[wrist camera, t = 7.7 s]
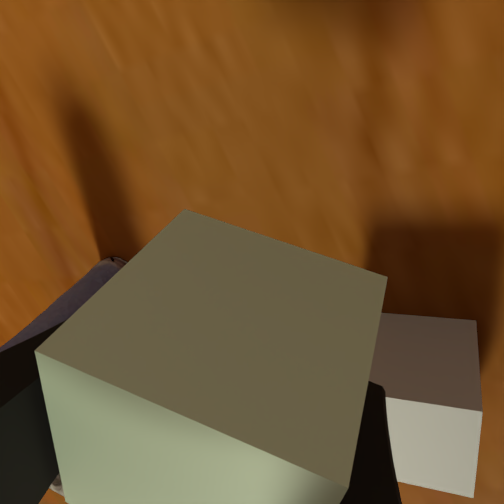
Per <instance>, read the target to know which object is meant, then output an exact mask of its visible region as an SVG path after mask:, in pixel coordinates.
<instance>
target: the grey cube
mask: <svg viewBox="0 0 504 504" xmlns="http://www.w3.org/2000/svg"><path fill="white" fill-rule="evenodd" d="M369 381H371V382H373V383H376V384H378V385H381V386H383V388H384V390H385V391H386V409H387V420H388V428H389V436H390V443H391V450H392V456H393V462H394V467H395V472H396V477H397V481H399V482H403V483H408V484H412V485H417V486H421V487H426V488H430V489H435V490H439V491H444V492H448V493H453V494H457V495H462V496H466V497H471V498H473V497H474V488H475V478H476V469H477V459H478V450H479V440H480V431H481V422H482V412H483V411H482V397H481V382H480V368H479V353H478V339H477V324H476V320H465V319H452V318H440V317H428V316H416V315H403V314H391V313H381V316H380V322H379V327H378V332H377V338H376V343H375V348H374V354H373V359H372V365H371V370H370V375H369Z"/></svg>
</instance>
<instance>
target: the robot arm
mask: <svg viewBox="0 0 504 504" xmlns="http://www.w3.org/2000/svg"><path fill="white" fill-rule="evenodd" d="M67 320H68V319H67ZM67 320H65V321H67ZM65 321H63V322H61V323H59V324H57V325H55V326H53V327H51V328H49V329H47V330H45V331H43V332H41V333H39V334H37V335H35V336H33V337H31V338H29V339H27V340H25V341H23V342H21V343H18V344H16V345H14V346H12V347H10V348H8V349H6V350H3V351H1V352H0V504H38V503H39V502H40V500H41V499H42V497H43V496H44V494H45V493H46V491H47V490H48V488H49V487H50V485H51V484H52V482H53V481H54V479H55V478H56V477H57V475H58V474H59V473H60V472H59V467H58V462H57V457H56V453H55V448H54V443H53V438H52V433H51V428H50V423H49V419H48V414H47V409H46V404H45V399H44V394H43V390H42V385H41V380H40V375H39V370H38V365H37V360H36V356H35V350H36V349H37V348H38V347H39V346H40V345H41V344H42V343H43V342H44V341H45V340H46V339H47V338H49V337H50V336H51V335H52V334H53V333H54V332H55V331H56V330H57V329H58V328H59V327H60V326H61V325H62V324H63V323H64V322H65ZM340 504H402V502H401V498H400V492H399V487H398V482H397V477H396V472H395V467H394V462H393V456H392V450H391V443H390V436H389V428H388V420H387V409H386V391H385V390H384V388H383V386H381V385H378V384H376V383H373V382H371V381H368V386H367V391H366V397H365V402H364V407H363V413H362V418H361V423H360V429H359V434H358V440H357V445H356V450H355V456H354V461H353V466H352V472H351V477H350V482H349V488H348V490H347V492H346V493H345V495H344V497H343V499H342V500H341V502H340Z"/></svg>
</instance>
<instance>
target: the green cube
mask: <svg viewBox="0 0 504 504" xmlns="http://www.w3.org/2000/svg"><path fill="white" fill-rule="evenodd" d="M387 279H388V277H386V276H383V275H380V274H377V273H374V272H371V271H368V270H365V269H362V268H359V267H356V266H353V265H350V264H347V263H344V262H341V261H338V260H335V259H333V258H330V257H327V256H324V255H321V254H318V253H315V252H312V251H309V250H306V249H303V248H300V247H297V246H294V245H291V244H288V243H285V242H282V241H279V240H276V239H273V238H270V237H267V236H264V235H261V234H258V233H255V232H252V231H249V230H246V229H243V228H240V227H237V226H234V225H231V224H228V223H225V222H222V221H219V220H216V219H213V218H210V217H207V216H204V215H201V214H198V213H195V212H192V211H189V210H186V209H184V210H183V211H182V212H181V213H180V214H179V215H178V216H177V217H176V218H174V219H173V220H172V221H171V222H170V223H169V224H168V225H167V226H166V227H165V228H164V229H163V230H162V231H161V232H160V233H159V234H158V235H156V236H155V237H154V238H153V239H152V240H151V241H150V242H149V243H148V244H147V245H146V246H145V247H144V248H143V249H142V250H141V251H140V252H138V253H137V254H136V255H135V256H134V257H133V258H132V259H131V260H130V261H129V262H128V263H127V264H126V265H125V266H124V267H123V268H122V269H120V270H119V271H118V272H117V273H116V274H115V275H114V276H113V277H112V278H111V279H110V280H109V281H108V282H107V283H106V284H105V285H104V286H102V287H101V288H100V289H99V290H98V291H97V292H96V293H95V294H94V295H93V296H92V297H91V298H90V299H89V300H88V301H87V302H86V303H85V304H83V305H82V306H81V307H80V308H79V309H78V310H77V311H76V312H75V313H74V314H73V315H72V316H71V317H70V318H69V319H68V320H67V321H65V322H64V323H63V324H62V325H61V326H60V327H59V328H58V329H57V330H56V331H55V332H54V333H53V334H52V335H51V336H50V337H49V338H47V339H46V340H45V341H44V342H43V343H42V344H41V345H40V346H39V347H38V348H37V349H36V350H35V356H36V360H37V365H38V370H39V375H40V380H41V385H42V390H43V394H44V399H45V404H46V409H47V414H48V419H49V423H50V428H51V433H52V438H53V443H54V448H55V453H56V457H57V462H58V467H59V472H60V477H61V482H62V486H63V491H64V496H65V501H66V502H67V503H69V504H340V502H341V500H342V499H343V497H344V495H345V493H346V492H347V490H348V488H349V482H350V477H351V472H352V466H353V461H354V456H355V450H356V445H357V440H358V434H359V429H360V423H361V418H362V413H363V407H364V402H365V397H366V391H367V386H368V381H369V375H370V370H371V365H372V359H373V354H374V348H375V343H376V338H377V332H378V327H379V322H380V316H381V311H382V306H383V300H384V295H385V290H386V284H387Z"/></svg>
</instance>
